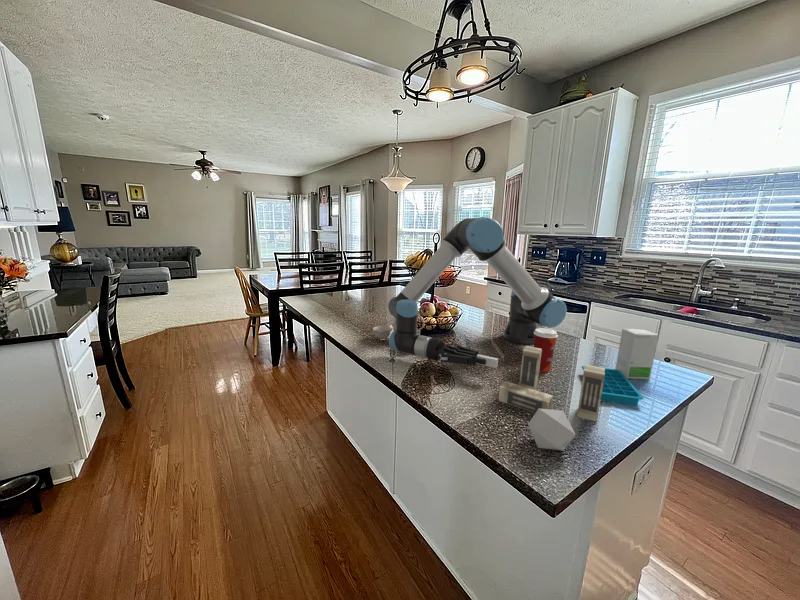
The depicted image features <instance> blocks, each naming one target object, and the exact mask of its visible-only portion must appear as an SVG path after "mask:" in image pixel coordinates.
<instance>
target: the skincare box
mask: <svg viewBox="0 0 800 600" xmlns="http://www.w3.org/2000/svg"><path fill="white" fill-rule="evenodd" d="M658 341H659V334H658V333H656V332H652V331H649V330H647V329H638V328H622V329H621V336H620V341H619V346H618V353H617V356H616V357H617V358H616V362H615V368H614V369H616V370H619V371H621V372H622V373H623V374H624V375H625V377H626V378H627V379H628V380H630V379H631V380H632V379H634V380H650V379H651V375H652V369H653V366H654V361H655V357H656V351H657V350H656V349H657V345H658Z"/></svg>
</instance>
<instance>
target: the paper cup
mask: <svg viewBox="0 0 800 600" xmlns="http://www.w3.org/2000/svg"><path fill="white" fill-rule="evenodd" d="M558 337H559V335H558V333H557V331H556V330H554V329H552V328H548V327H538V328H537V329H535V332H534V344H533V347H535V348H540V349H542V352H541V360H540V369H539V373H540V372H541V373H549V372H551V368H552V363H553V358H554V355H555V354H554V353H555V347H556V342H557V338H558Z"/></svg>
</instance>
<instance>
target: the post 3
mask: <svg viewBox="0 0 800 600" xmlns="http://www.w3.org/2000/svg"><path fill="white" fill-rule="evenodd" d="M584 366H585V367H584V371H583V373H582V375H583V376H582V380H581V381H582V382H581V388H580V396H579V400H578V408H577V415H576V417H578V418H581V419H584V420H589V421H593V422H596V423H598V419H599V412H600V405H601V401H602V400H601V395H602V389H603V383H604V377H605V367H600V366H595V365H589V364H584Z"/></svg>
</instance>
